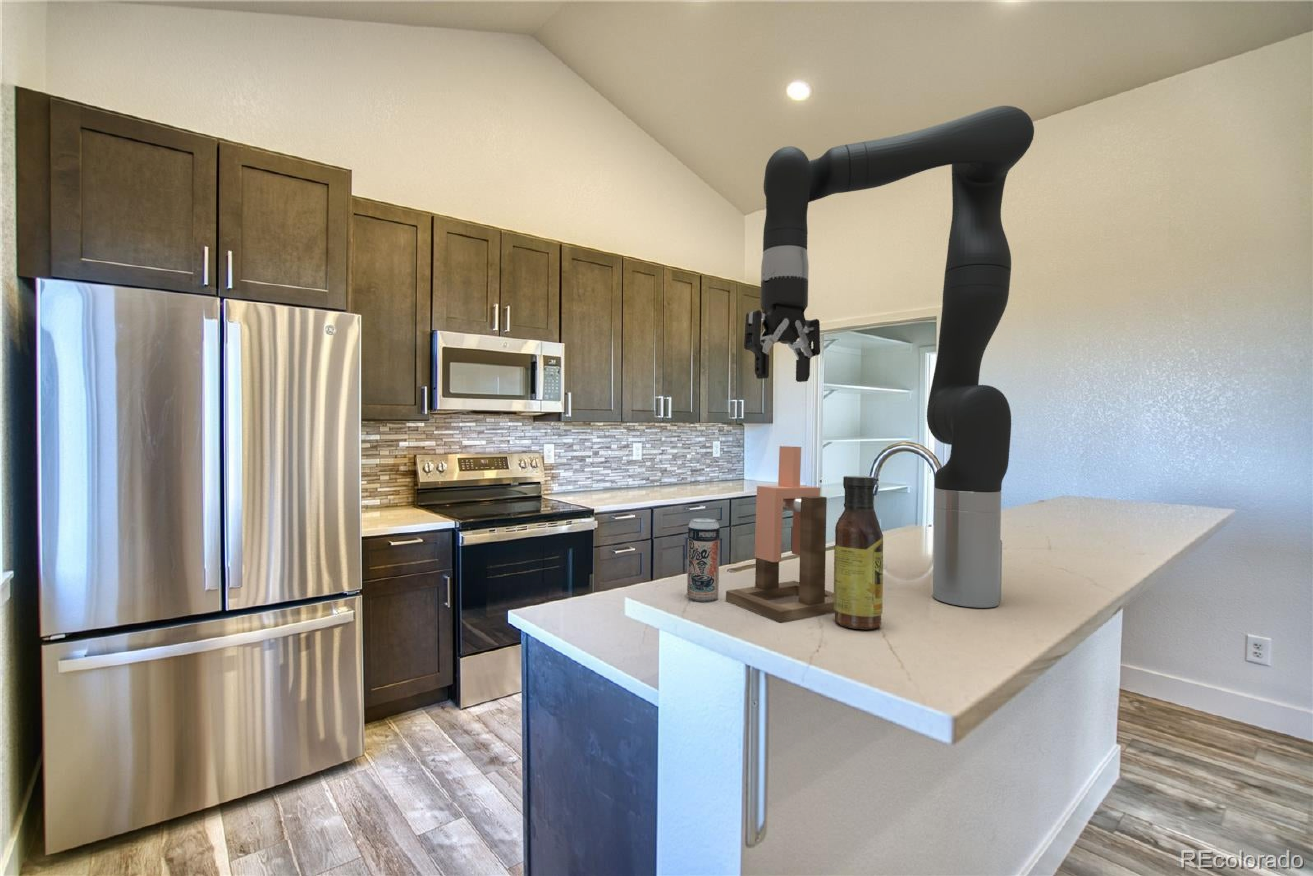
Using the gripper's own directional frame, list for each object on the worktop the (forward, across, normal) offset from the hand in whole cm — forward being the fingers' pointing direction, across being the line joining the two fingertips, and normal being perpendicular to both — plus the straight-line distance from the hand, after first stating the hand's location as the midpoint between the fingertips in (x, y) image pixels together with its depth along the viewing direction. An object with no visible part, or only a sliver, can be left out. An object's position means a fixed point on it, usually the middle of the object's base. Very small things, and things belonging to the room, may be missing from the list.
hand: (782, 380), depth 97 cm
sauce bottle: (+34, +2, +18) cm, 39 cm away
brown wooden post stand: (+34, +4, +7) cm, 35 cm away
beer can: (+34, +14, -2) cm, 37 cm away
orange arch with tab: (+27, +5, +7) cm, 28 cm away
